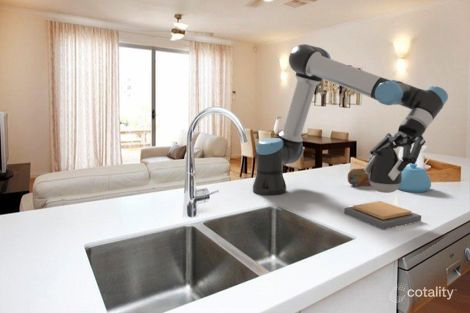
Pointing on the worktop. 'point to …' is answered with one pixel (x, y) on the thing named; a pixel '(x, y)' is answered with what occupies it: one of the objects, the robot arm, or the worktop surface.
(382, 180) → the dark rounded piece
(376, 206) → the pad
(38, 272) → the worktop surface
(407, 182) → the sugar bowl
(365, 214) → the dock
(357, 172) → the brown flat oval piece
